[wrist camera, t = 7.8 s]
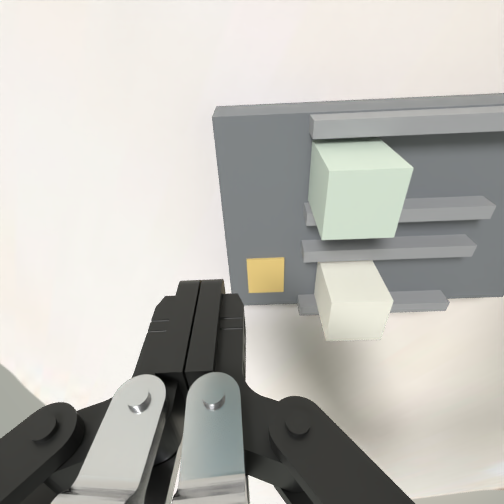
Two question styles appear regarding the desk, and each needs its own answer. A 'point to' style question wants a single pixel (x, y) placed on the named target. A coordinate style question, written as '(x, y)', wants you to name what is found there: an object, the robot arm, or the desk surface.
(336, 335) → the cream tab
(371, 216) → the pale green block
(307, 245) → the switch panel
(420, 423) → the desk surface
